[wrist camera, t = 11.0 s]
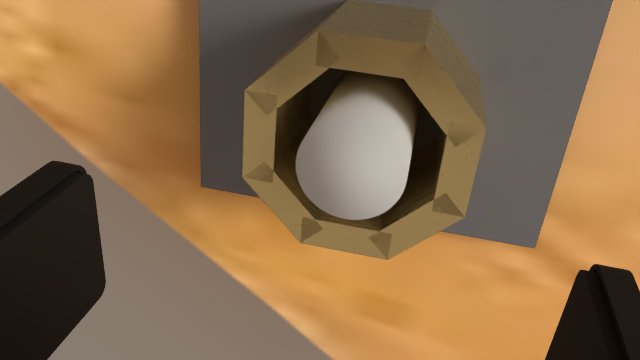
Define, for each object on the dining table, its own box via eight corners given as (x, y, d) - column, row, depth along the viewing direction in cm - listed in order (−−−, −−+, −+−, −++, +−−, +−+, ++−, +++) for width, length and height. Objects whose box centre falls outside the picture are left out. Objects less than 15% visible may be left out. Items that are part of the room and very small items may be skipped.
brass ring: (291, -9, 20) (246, 19, 16) (493, 18, 19) (503, 55, 15) (280, 168, 24) (241, 231, 19) (453, 198, 23) (451, 272, 18)
